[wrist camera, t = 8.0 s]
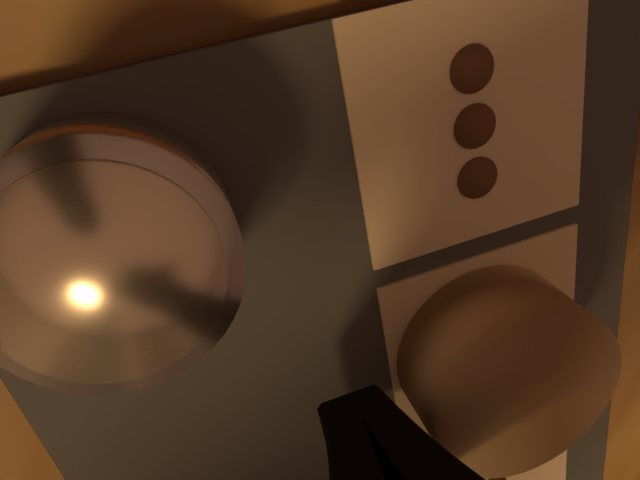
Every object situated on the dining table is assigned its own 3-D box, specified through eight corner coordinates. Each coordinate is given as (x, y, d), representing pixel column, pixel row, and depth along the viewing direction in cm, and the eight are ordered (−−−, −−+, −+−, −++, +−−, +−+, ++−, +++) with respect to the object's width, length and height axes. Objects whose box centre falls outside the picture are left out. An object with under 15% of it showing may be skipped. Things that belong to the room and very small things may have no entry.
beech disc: (409, 438, 13) (446, 505, 12) (383, 301, 11) (423, 357, 10) (559, 380, 14) (615, 435, 12) (559, 240, 12) (627, 282, 10)
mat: (184, 656, 15) (184, 672, 15) (-145, 128, 8) (-159, 135, 7) (594, 482, 17) (604, 492, 17) (643, -57, 10) (661, -59, 10)
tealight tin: (139, 361, 10) (134, 439, 8) (-69, 246, 8) (-136, 310, 7) (275, 212, 10) (302, 257, 8) (87, 57, 8) (63, 67, 6)
